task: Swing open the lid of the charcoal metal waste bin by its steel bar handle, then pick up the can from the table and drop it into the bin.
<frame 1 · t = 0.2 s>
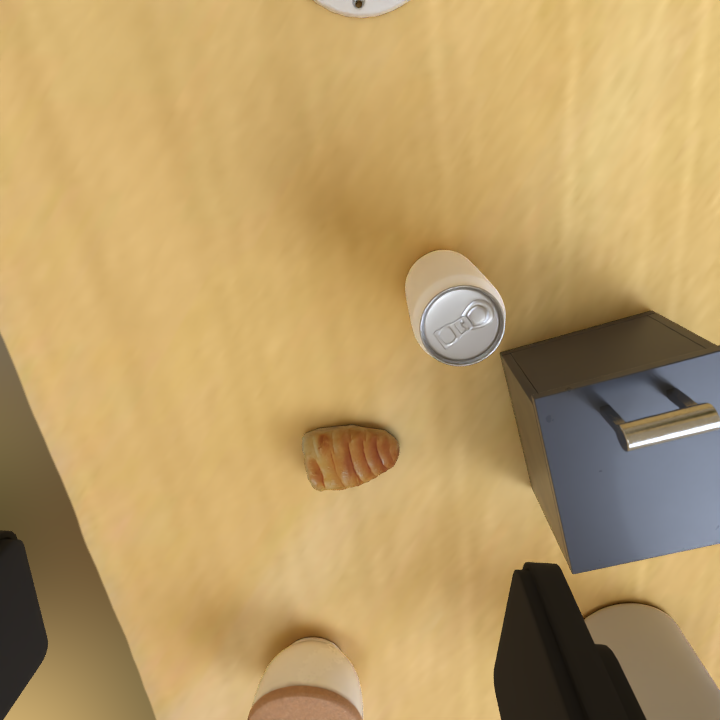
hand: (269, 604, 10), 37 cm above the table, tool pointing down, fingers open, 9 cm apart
can: (441, 285, 44), on the table
lidded bowl: (314, 656, 62), on the table
bin lid: (661, 487, 35), point 14 cm above the table, hinge at 0.0°
bin: (587, 405, 48), on the table
pastry: (345, 447, 51), on the table
cylinder vase: (620, 638, 59), on the table
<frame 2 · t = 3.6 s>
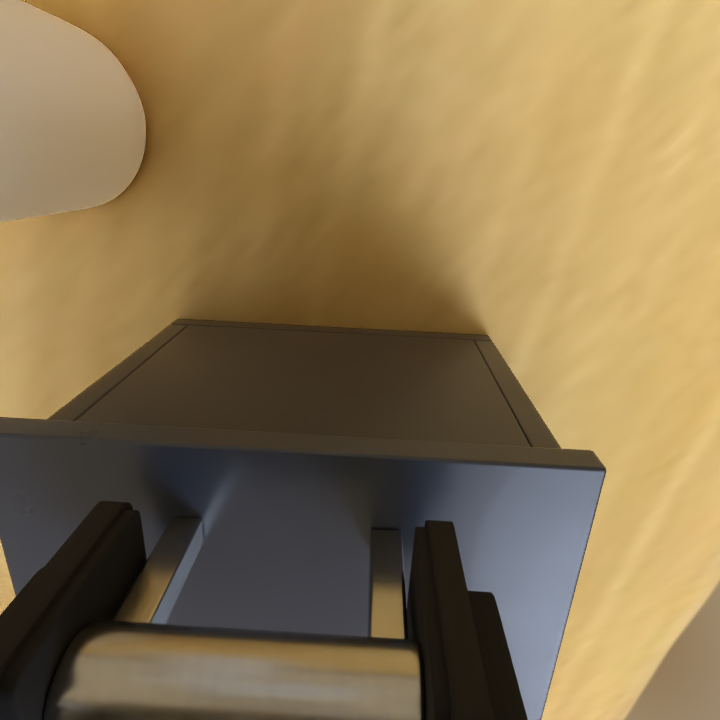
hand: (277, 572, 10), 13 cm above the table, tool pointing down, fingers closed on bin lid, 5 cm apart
can: (70, 121, 19), on the table
bin: (328, 478, 25), on the table
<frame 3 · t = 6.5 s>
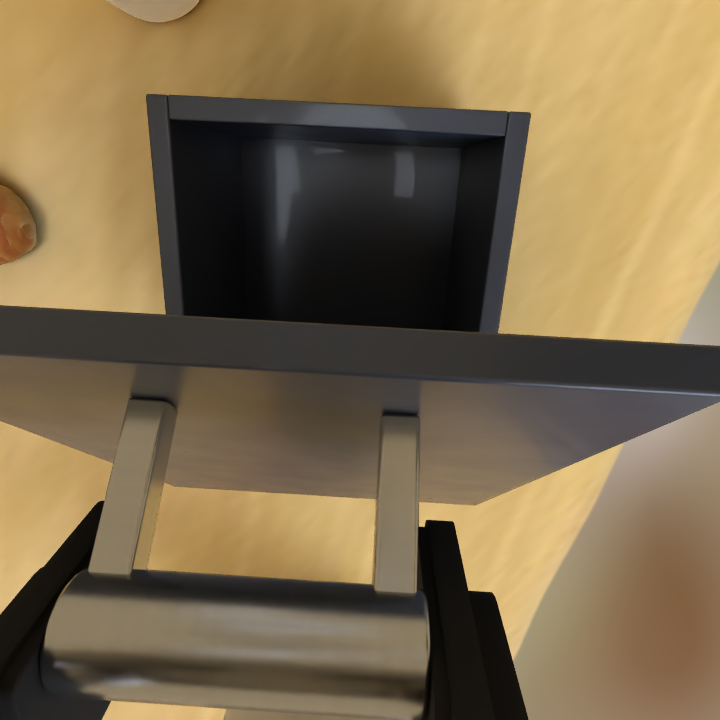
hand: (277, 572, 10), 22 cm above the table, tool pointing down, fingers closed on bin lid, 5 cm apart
bin lid: (300, 533, 14), point 19 cm above the table, hinge at 48.2°, touching gripper
bin: (347, 269, 30), on the table
cylinder vase: (322, 647, 42), on the table
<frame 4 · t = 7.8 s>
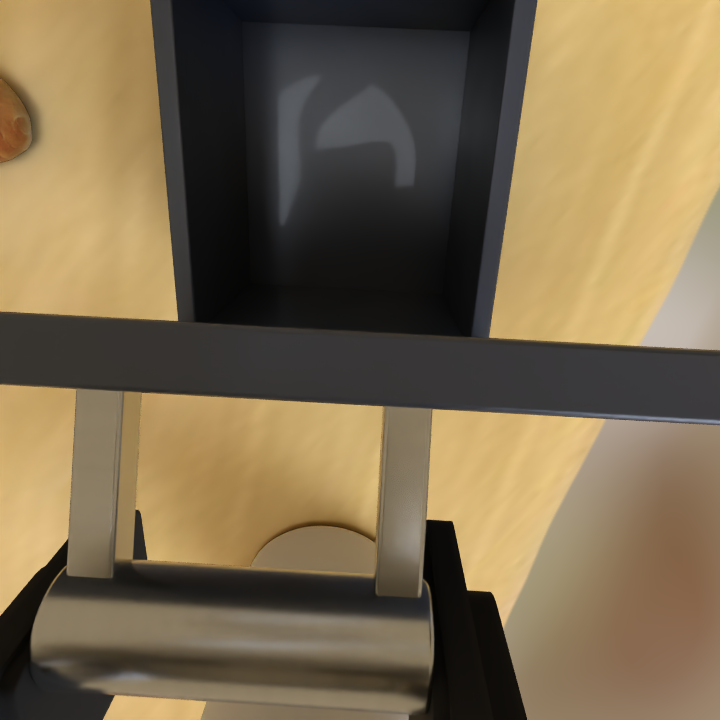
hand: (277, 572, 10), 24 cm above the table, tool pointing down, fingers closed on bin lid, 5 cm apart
bin lid: (303, 444, 14), point 20 cm above the table, hinge at 69.0°, touching gripper
bin: (351, 169, 30), on the table
cylinder vase: (325, 581, 41), on the table
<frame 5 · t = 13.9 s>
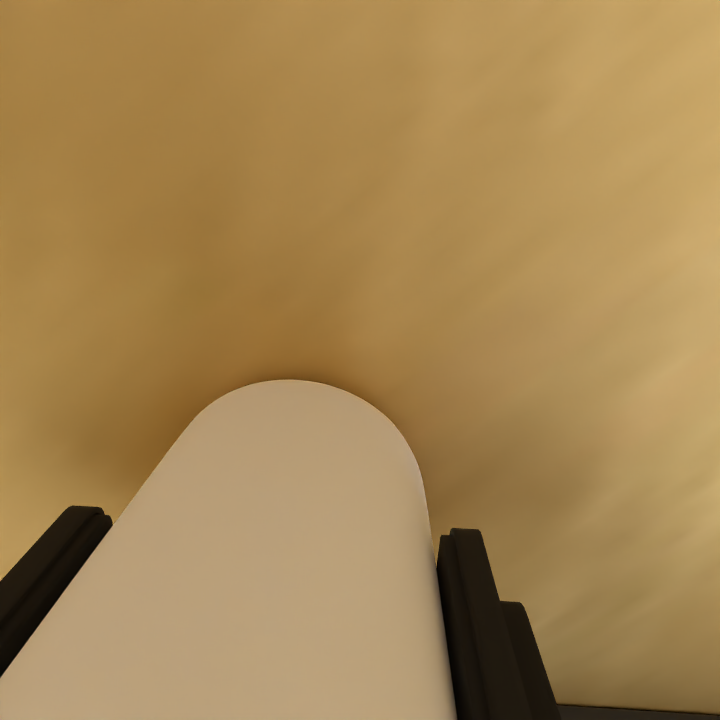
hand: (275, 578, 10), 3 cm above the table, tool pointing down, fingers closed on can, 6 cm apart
can: (300, 480, 13), on the table, touching gripper
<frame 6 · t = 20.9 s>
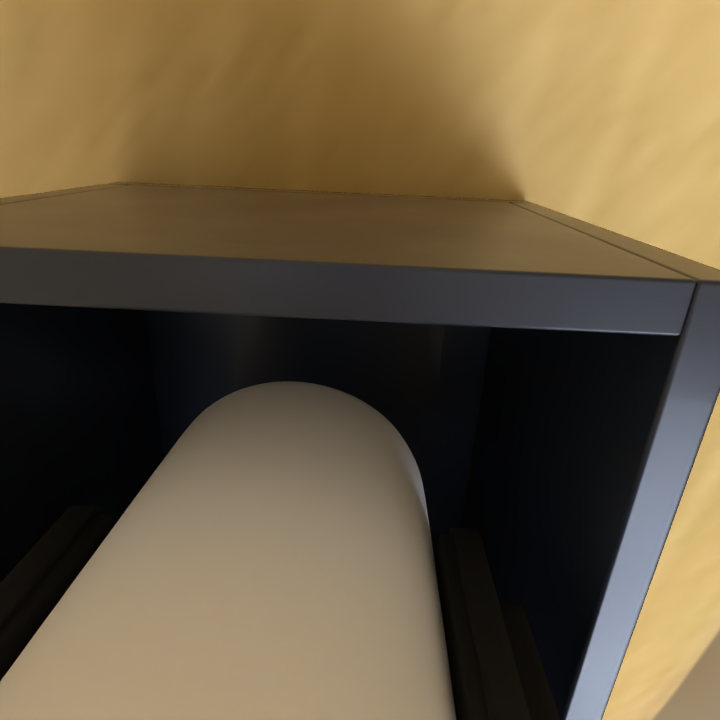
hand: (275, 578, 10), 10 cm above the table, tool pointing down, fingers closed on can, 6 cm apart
can: (300, 481, 13), point 6 cm above the table, touching gripper
bin: (319, 401, 20), on the table
when the fingers open (10 cm above the table, at t = 21.0 s): can drops 6 cm, resting on bin.
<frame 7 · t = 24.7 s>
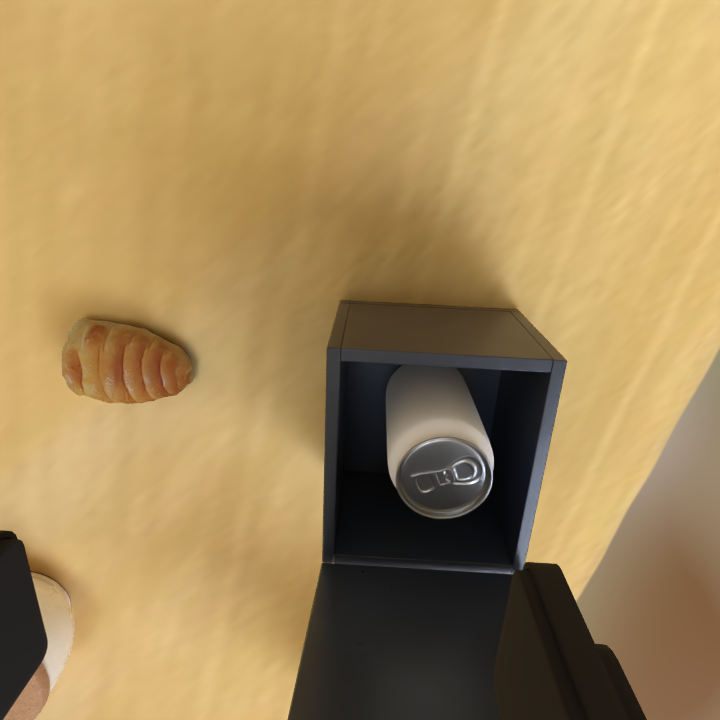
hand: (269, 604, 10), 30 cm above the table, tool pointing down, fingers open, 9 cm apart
can: (425, 391, 40), point 1 cm above the table, touching bin
lidded bowl: (37, 597, 51), on the table
bin lid: (437, 692, 25), point 20 cm above the table, hinge at 70.3°
bin: (419, 396, 41), on the table
pastry: (132, 355, 41), on the table
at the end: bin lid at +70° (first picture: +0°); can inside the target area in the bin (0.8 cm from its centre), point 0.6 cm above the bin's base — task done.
